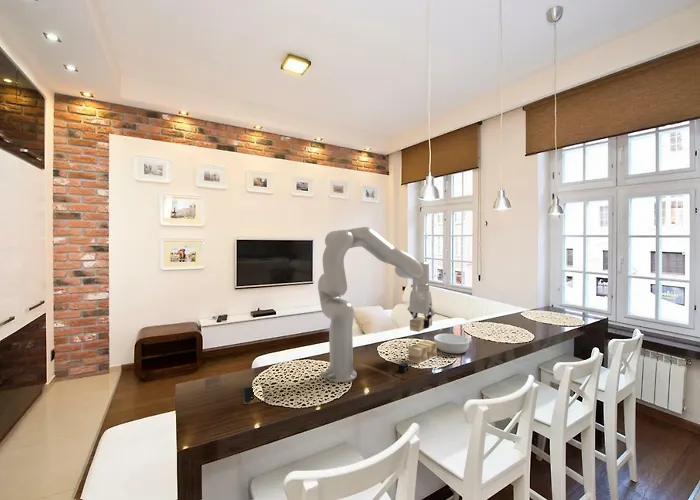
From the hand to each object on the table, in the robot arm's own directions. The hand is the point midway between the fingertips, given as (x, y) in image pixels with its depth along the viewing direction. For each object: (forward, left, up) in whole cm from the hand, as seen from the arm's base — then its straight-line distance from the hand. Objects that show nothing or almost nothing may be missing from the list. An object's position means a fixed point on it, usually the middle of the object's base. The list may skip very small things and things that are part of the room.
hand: (421, 326), depth 142 cm
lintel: (0, 0, -1) cm, 1 cm away
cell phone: (-72, +23, -16) cm, 77 cm away
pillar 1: (-4, -1, -14) cm, 15 cm away
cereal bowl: (+19, -5, -16) cm, 25 cm away
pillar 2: (+4, -1, -14) cm, 15 cm away
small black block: (-18, -3, -16) cm, 25 cm away
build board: (0, -1, -16) cm, 16 cm away
